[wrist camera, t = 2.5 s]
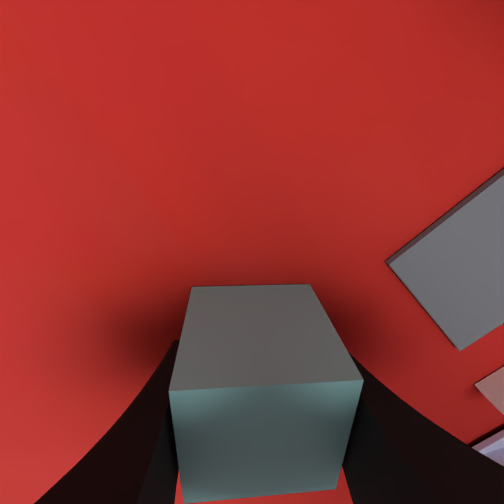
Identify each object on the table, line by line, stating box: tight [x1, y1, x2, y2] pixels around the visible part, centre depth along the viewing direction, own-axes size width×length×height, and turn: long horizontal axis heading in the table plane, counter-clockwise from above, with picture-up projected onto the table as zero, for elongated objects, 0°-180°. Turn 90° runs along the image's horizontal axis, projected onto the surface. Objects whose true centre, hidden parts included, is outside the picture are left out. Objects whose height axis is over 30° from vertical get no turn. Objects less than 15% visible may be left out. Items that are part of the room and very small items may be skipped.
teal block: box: [169, 284, 364, 503], centre depth 10 cm, size 5×5×5 cm
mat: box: [385, 168, 504, 351], centre depth 12 cm, size 7×7×1 cm
